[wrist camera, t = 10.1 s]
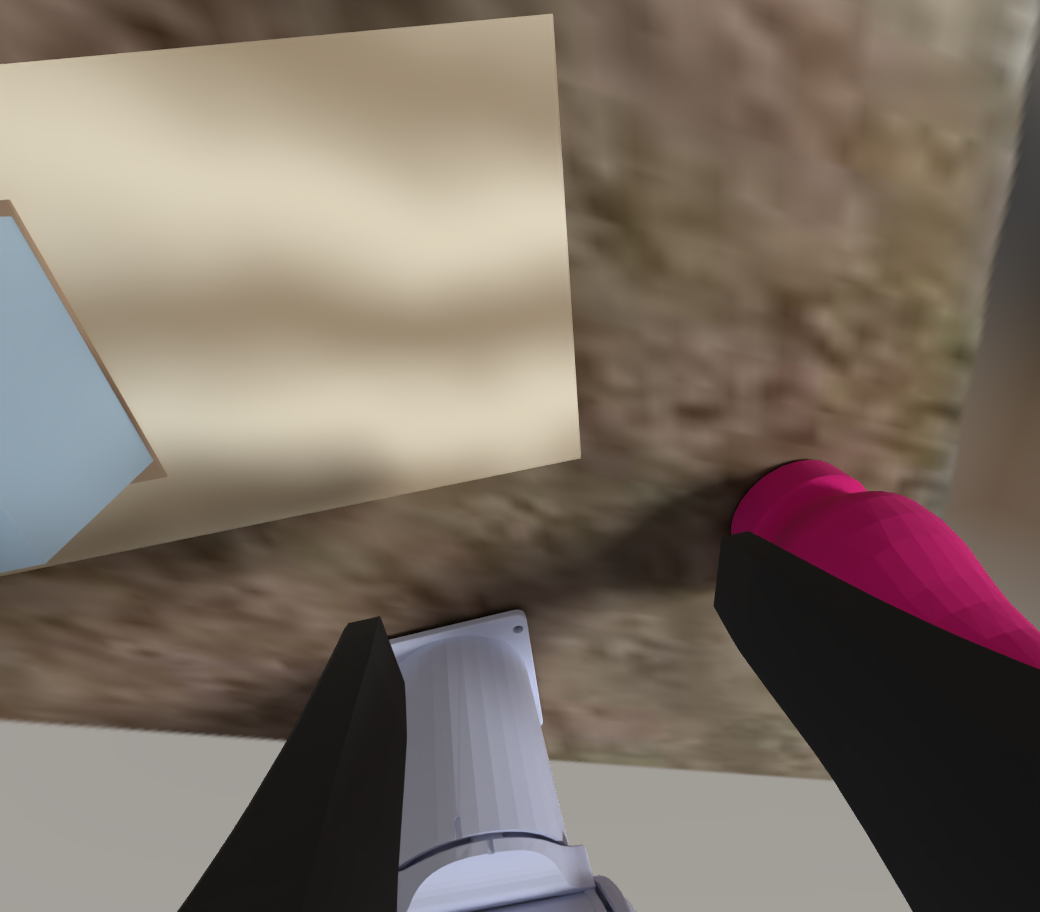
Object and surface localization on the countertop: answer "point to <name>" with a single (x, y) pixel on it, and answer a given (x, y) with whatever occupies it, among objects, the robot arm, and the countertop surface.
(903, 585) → the pepper mill
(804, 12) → the countertop surface
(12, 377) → the block
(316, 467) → the base plate
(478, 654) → the robot arm
